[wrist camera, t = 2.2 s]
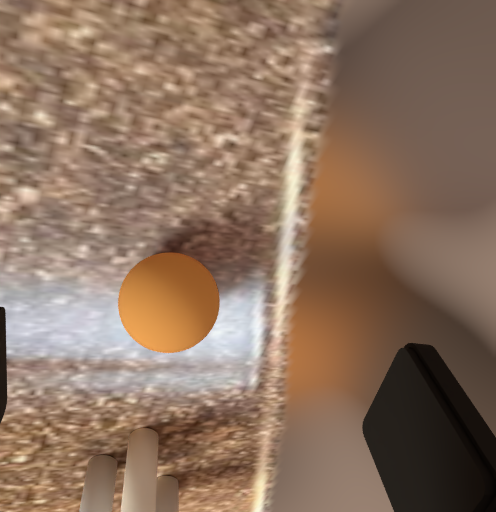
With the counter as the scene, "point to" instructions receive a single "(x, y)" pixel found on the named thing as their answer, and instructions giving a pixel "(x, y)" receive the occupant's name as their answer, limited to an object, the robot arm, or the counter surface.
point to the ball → (168, 302)
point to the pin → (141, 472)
